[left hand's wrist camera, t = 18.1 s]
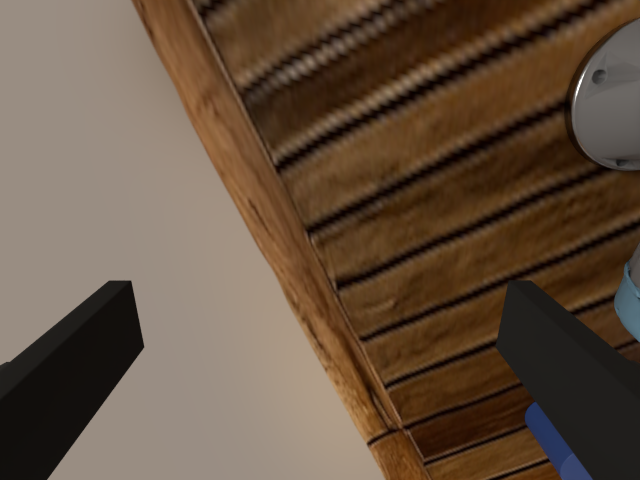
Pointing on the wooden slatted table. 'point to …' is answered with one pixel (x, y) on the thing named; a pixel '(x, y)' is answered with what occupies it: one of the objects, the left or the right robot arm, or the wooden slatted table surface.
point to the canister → (554, 445)
